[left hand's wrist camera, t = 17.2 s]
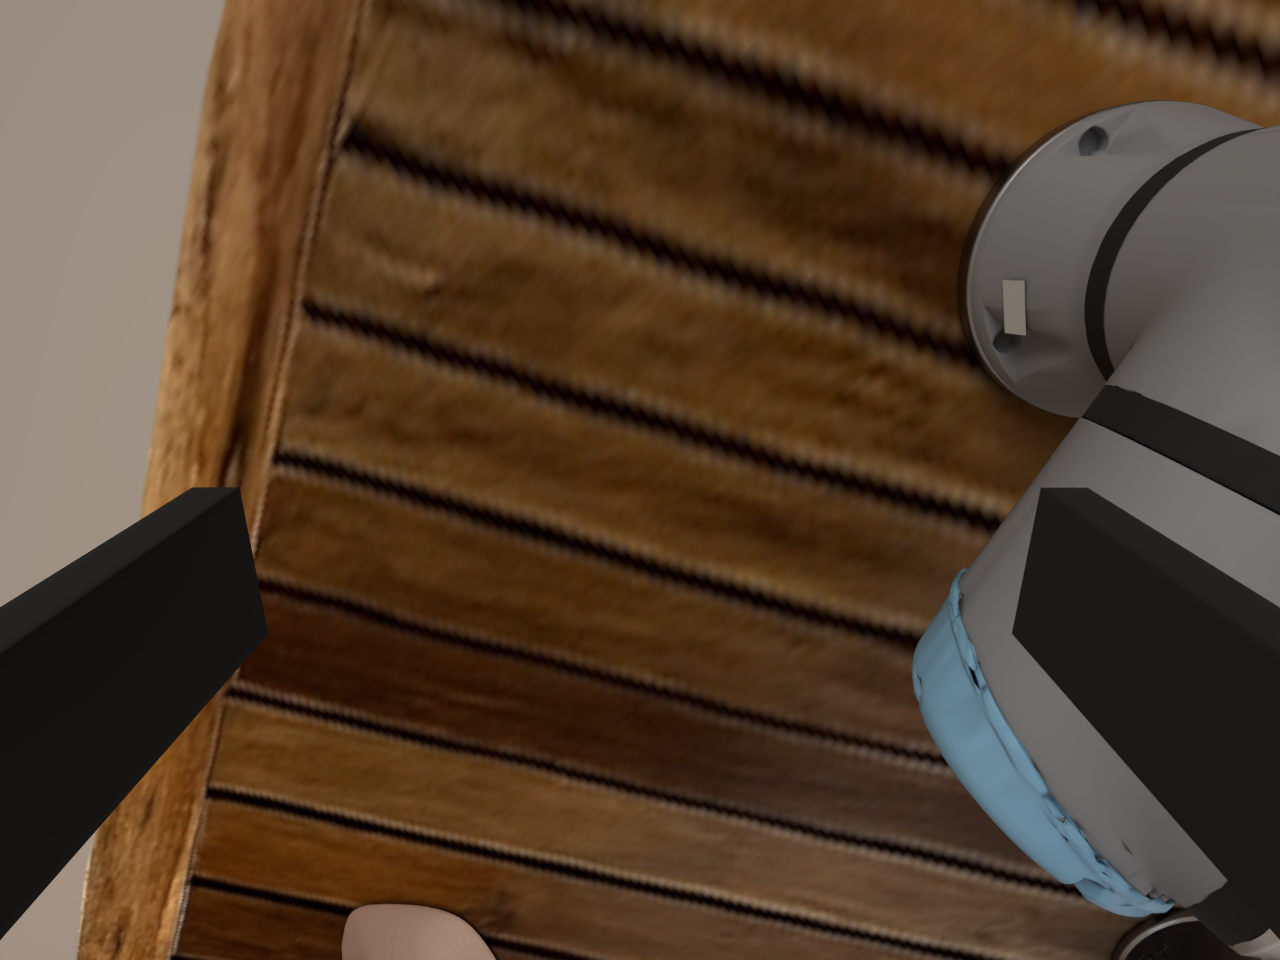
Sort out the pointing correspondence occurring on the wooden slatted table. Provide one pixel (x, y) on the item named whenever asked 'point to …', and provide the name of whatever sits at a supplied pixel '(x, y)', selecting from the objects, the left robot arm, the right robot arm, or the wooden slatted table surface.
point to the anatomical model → (410, 935)
